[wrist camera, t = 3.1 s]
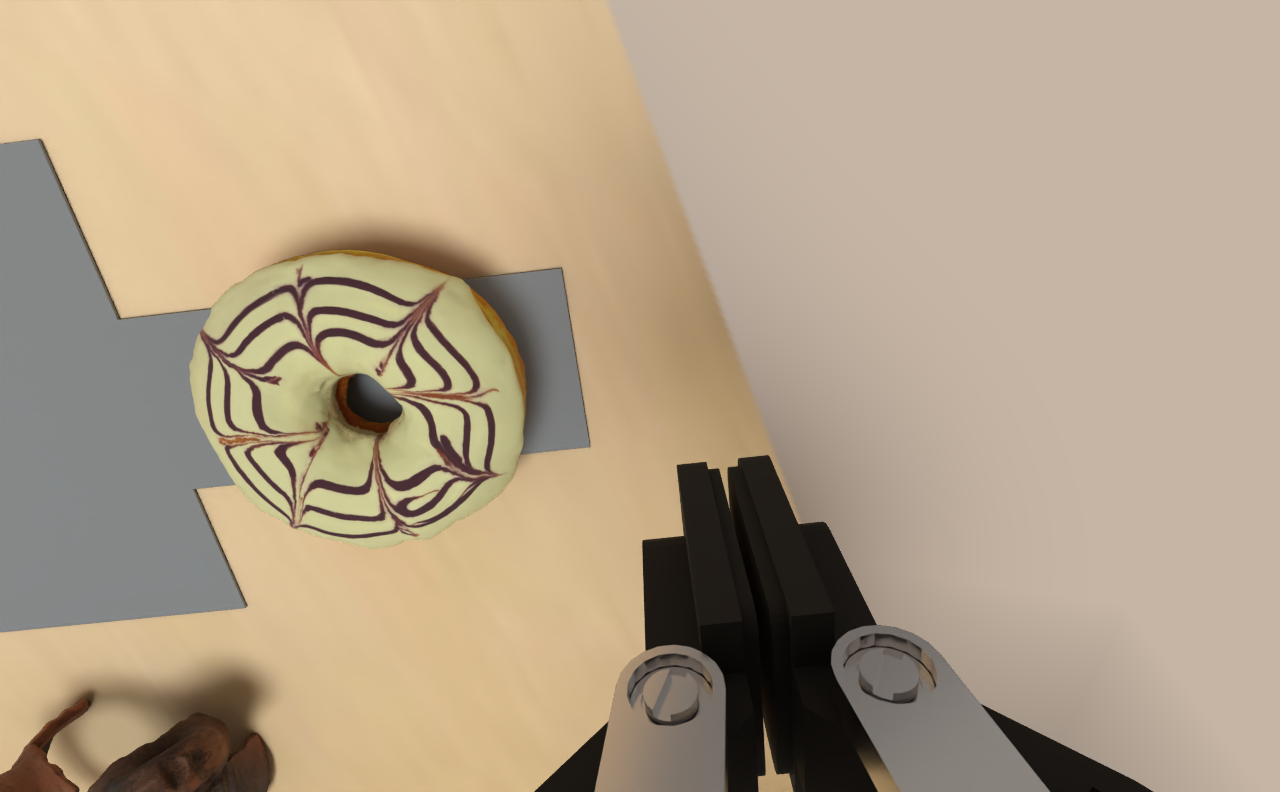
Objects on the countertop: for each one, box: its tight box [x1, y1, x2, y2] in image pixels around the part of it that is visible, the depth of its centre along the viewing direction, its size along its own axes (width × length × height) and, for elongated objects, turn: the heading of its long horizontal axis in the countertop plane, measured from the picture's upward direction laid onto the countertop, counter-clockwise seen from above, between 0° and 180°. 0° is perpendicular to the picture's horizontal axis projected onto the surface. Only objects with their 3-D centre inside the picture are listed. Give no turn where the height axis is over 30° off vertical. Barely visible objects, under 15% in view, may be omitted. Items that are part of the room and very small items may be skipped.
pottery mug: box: [0, 700, 270, 792], centre depth 28 cm, size 12×10×8 cm
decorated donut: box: [189, 249, 526, 549], centre depth 22 cm, size 10×11×4 cm
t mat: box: [0, 140, 590, 632], centre depth 24 cm, size 30×19×1 cm, turn 96°
